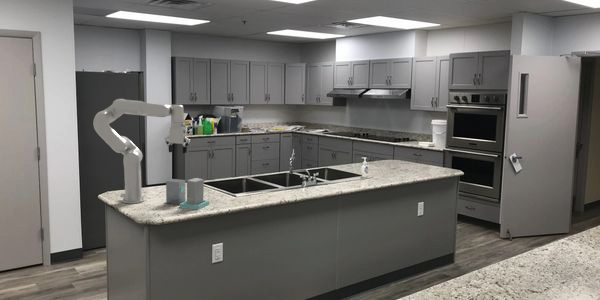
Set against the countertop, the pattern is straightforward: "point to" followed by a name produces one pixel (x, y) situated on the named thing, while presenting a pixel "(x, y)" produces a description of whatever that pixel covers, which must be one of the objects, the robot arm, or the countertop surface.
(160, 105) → the robot arm
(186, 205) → the tray
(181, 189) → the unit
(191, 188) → the skincare box
